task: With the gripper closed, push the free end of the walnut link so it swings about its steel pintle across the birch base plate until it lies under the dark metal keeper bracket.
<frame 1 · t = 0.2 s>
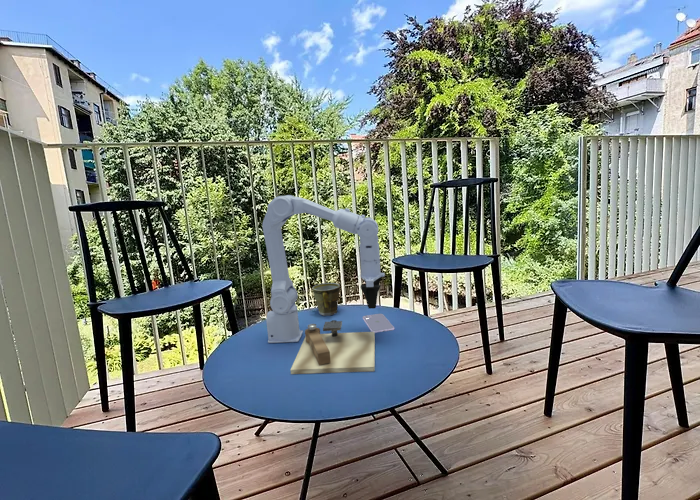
hand: (372, 303, 111), 10 cm above the table, tool pointing down, fingers open, 7 cm apart
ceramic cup: (328, 314, 135), on the table
link: (317, 344, 102), point 3 cm above the table, hinge at -70.0°
keeper: (325, 331, 110), on the base plate, point 4 cm above the table
base plate: (313, 344, 109), on the table
mobile phone: (377, 324, 123), on the table
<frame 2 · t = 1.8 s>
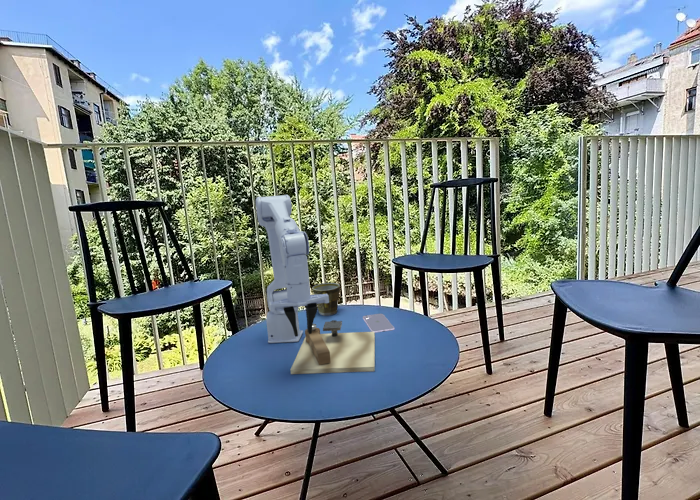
hand: (302, 333, 94), 9 cm above the table, tool pointing down, fingers open, 3 cm apart
nothing on the table moved.
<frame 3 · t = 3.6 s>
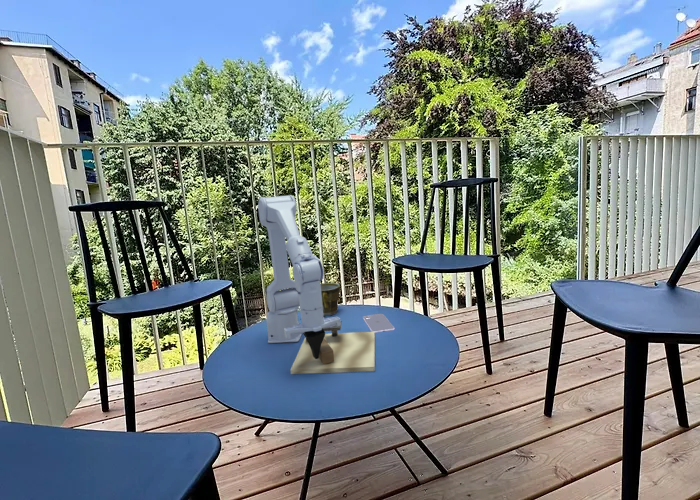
hand: (316, 357, 96), 2 cm above the table, tool pointing down, fingers closed
link: (318, 343, 102), point 3 cm above the table, hinge at -66.4°, touching gripper
everything else where it was.
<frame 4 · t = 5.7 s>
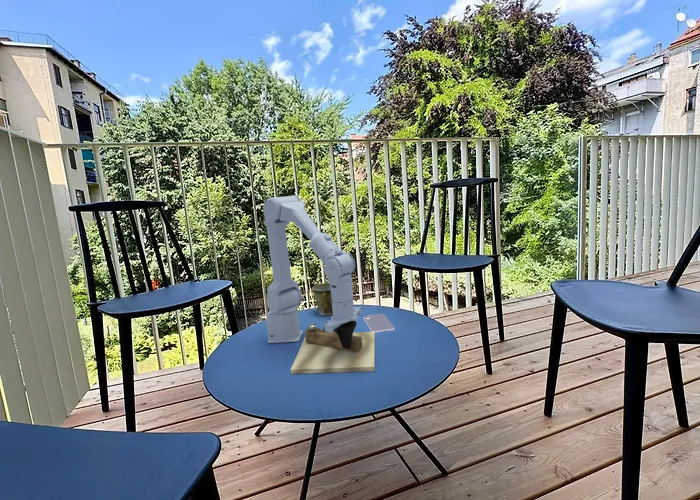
hand: (346, 348, 100), 2 cm above the table, tool pointing down, fingers closed
link: (331, 338, 105), point 3 cm above the table, hinge at -28.8°, touching gripper
everything else where it was.
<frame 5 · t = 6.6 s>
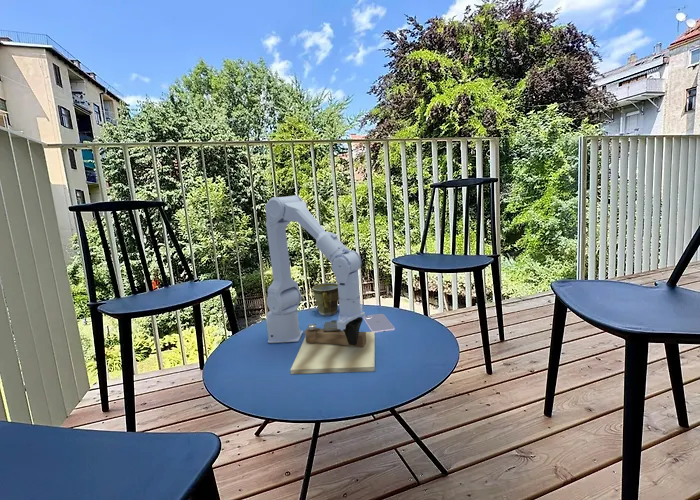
hand: (352, 344, 102), 2 cm above the table, tool pointing down, fingers closed
link: (334, 336, 106), point 3 cm above the table, hinge at -16.5°, touching gripper
everything else where it was.
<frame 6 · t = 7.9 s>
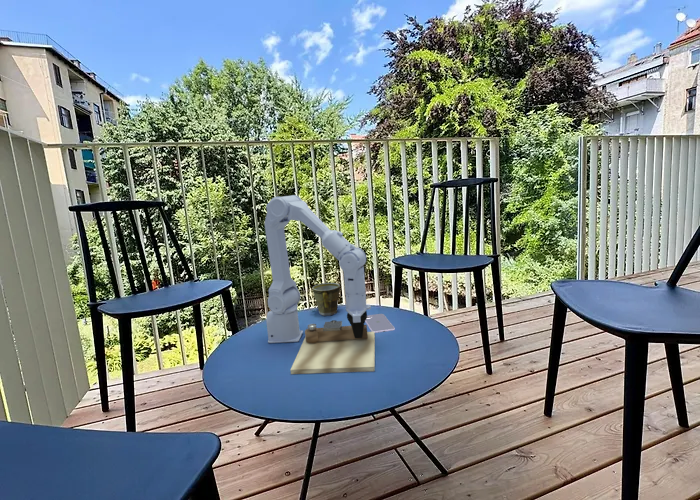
hand: (358, 337, 106), 2 cm above the table, tool pointing down, fingers closed
link: (336, 333, 109), point 3 cm above the table, hinge at 3.7°, touching gripper
everything else where it was.
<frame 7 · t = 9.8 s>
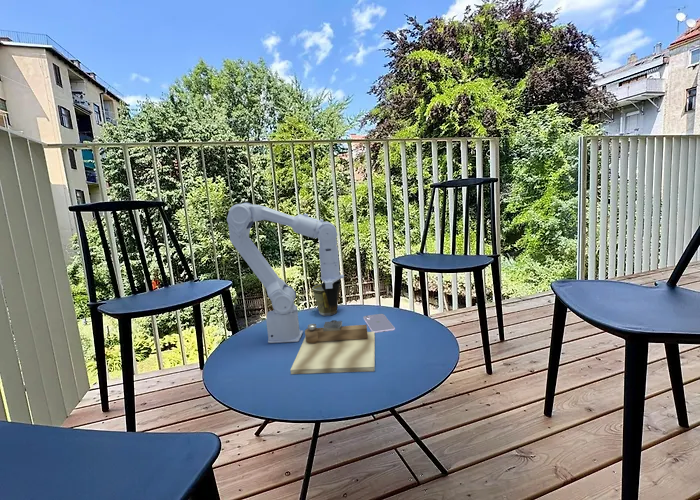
hand: (332, 304, 115), 9 cm above the table, tool pointing down, fingers closed
link: (336, 333, 109), point 3 cm above the table, hinge at 3.8°
everything else where it was.
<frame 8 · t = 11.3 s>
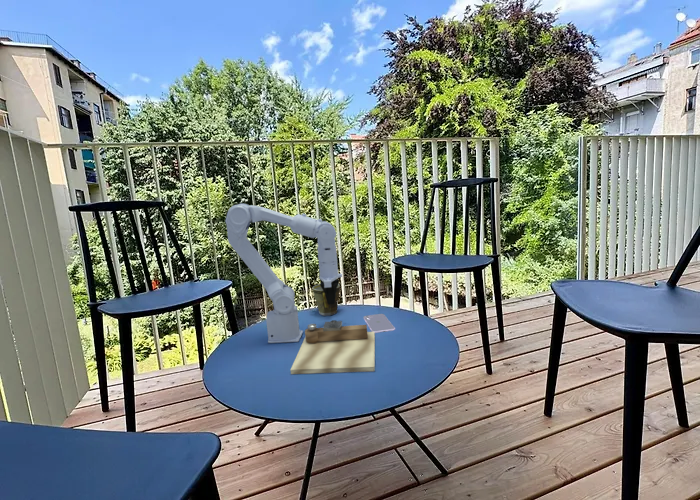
hand: (331, 303, 116), 9 cm above the table, tool pointing down, fingers closed
nothing on the table moved.
at the end: link at +4° (first picture: -70°) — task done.
